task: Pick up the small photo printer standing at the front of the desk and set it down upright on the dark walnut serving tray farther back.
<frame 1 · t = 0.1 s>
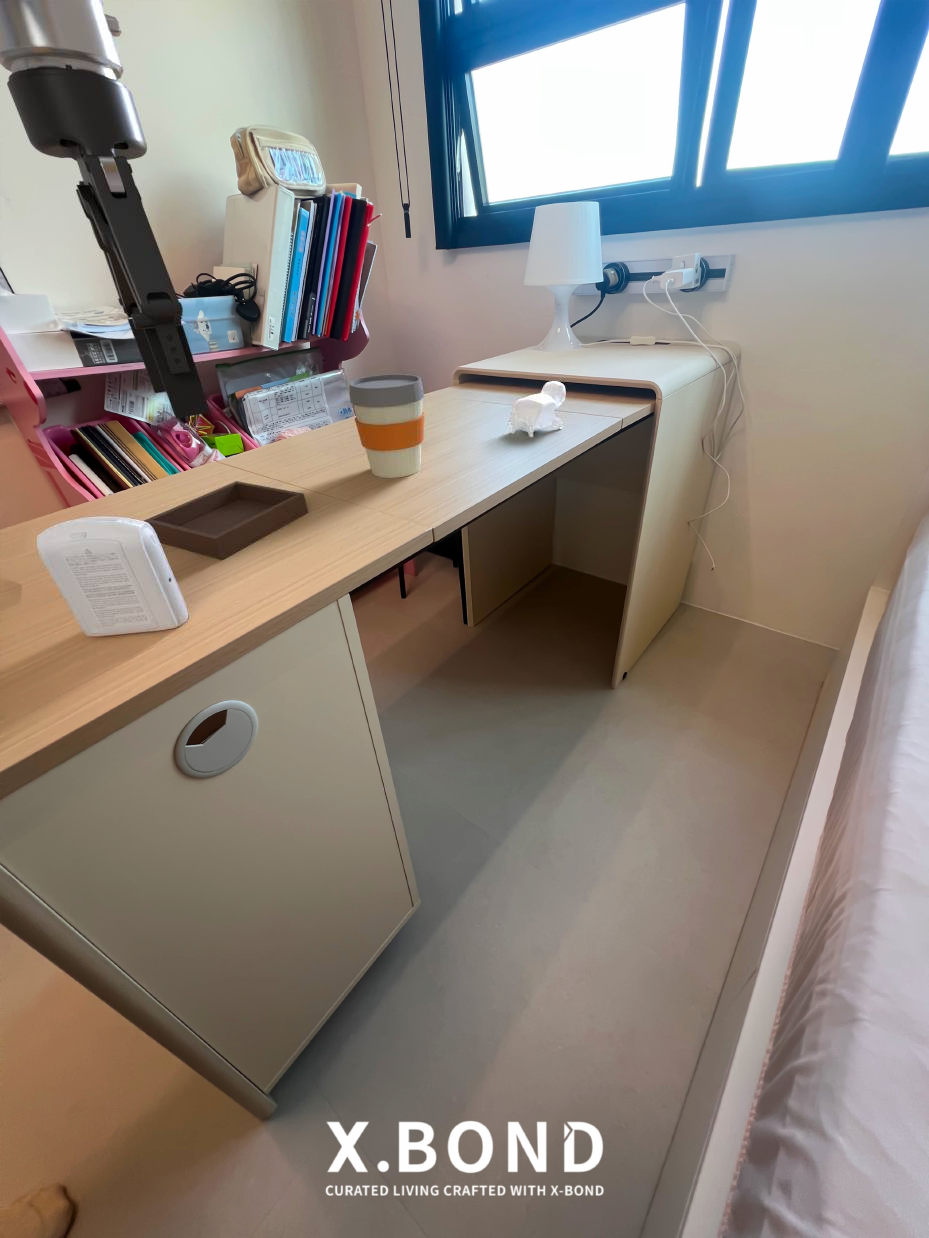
hand: (180, 402, 48), 21 cm above the table, tool pointing down, fingers open, 13 cm apart
reusable coffee cup: (396, 470, 93), on the table
white animal figurine: (539, 429, 111), on the table
photo printer: (141, 626, 55), on the table
tray: (233, 526, 75), on the table
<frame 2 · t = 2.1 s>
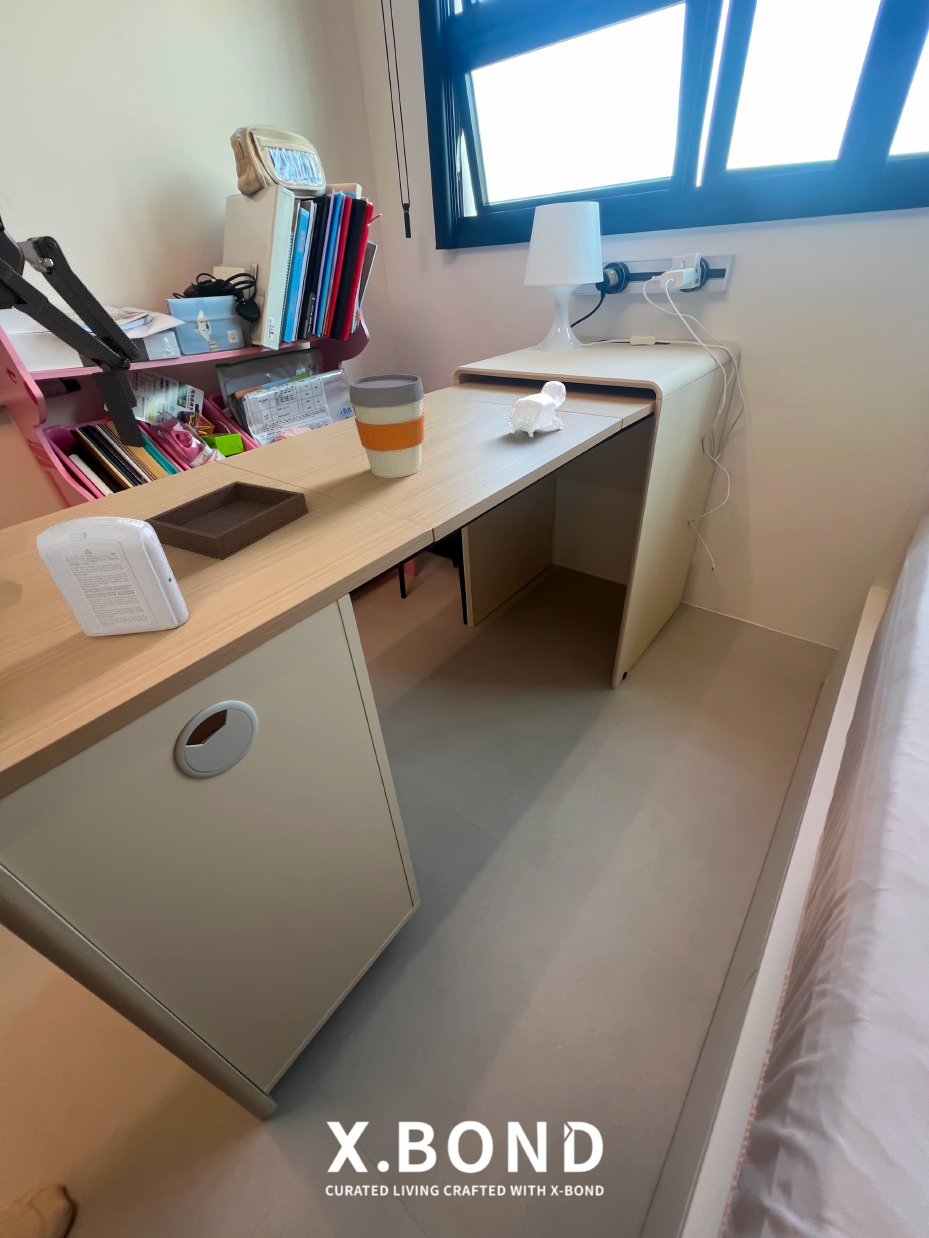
hand: (64, 467, 45), 17 cm above the table, tool pointing down, fingers open, 13 cm apart
nothing on the table moved.
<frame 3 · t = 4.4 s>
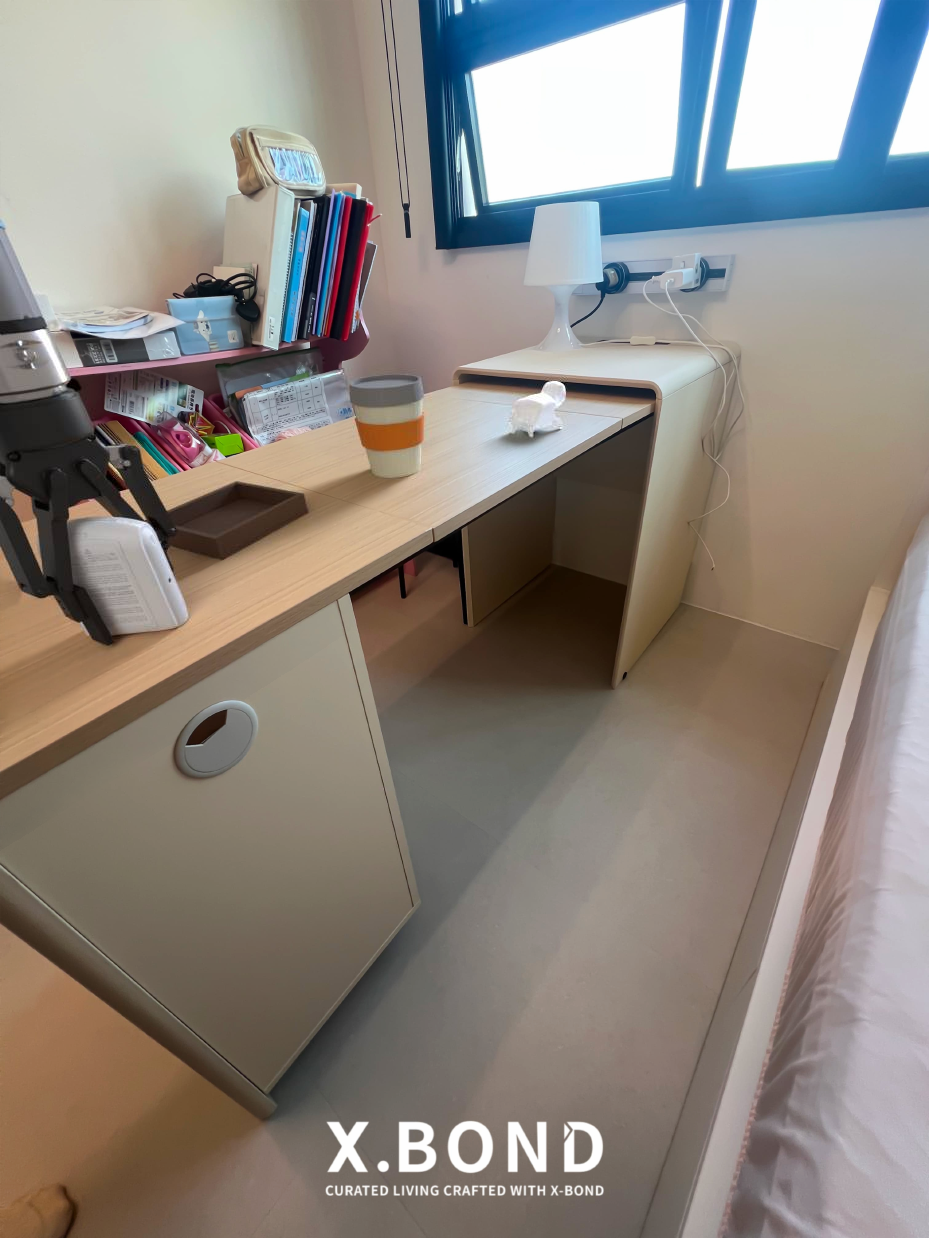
hand: (138, 620, 54), 1 cm above the table, tool pointing down, fingers closed on photo printer, 7 cm apart
photo printer: (141, 626, 55), on the table, touching gripper
everything else where it was.
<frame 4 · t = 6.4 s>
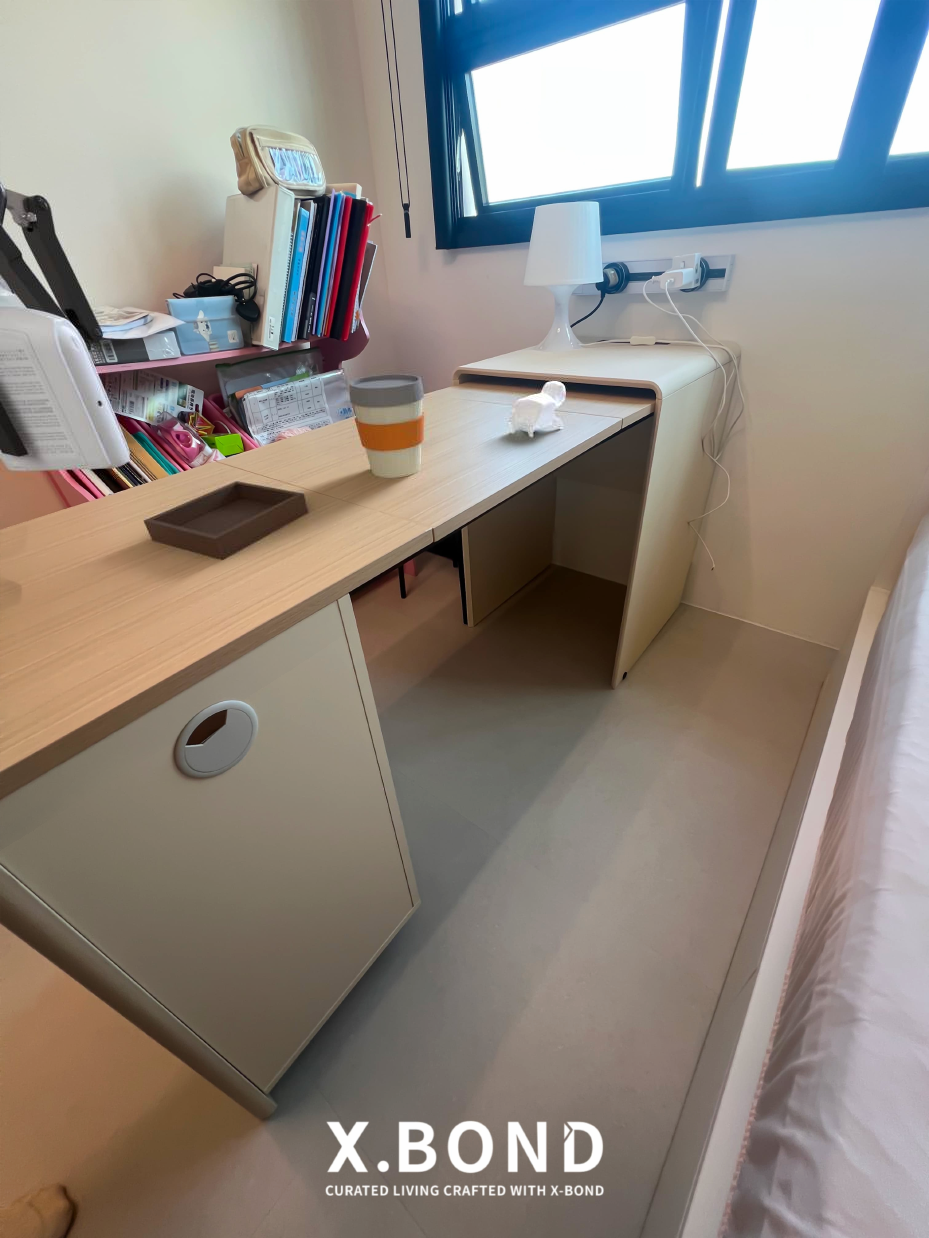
hand: (59, 441, 45), 19 cm above the table, tool pointing down, fingers closed on photo printer, 6 cm apart
photo printer: (75, 468, 46), point 17 cm above the table, touching gripper
everything else where it was.
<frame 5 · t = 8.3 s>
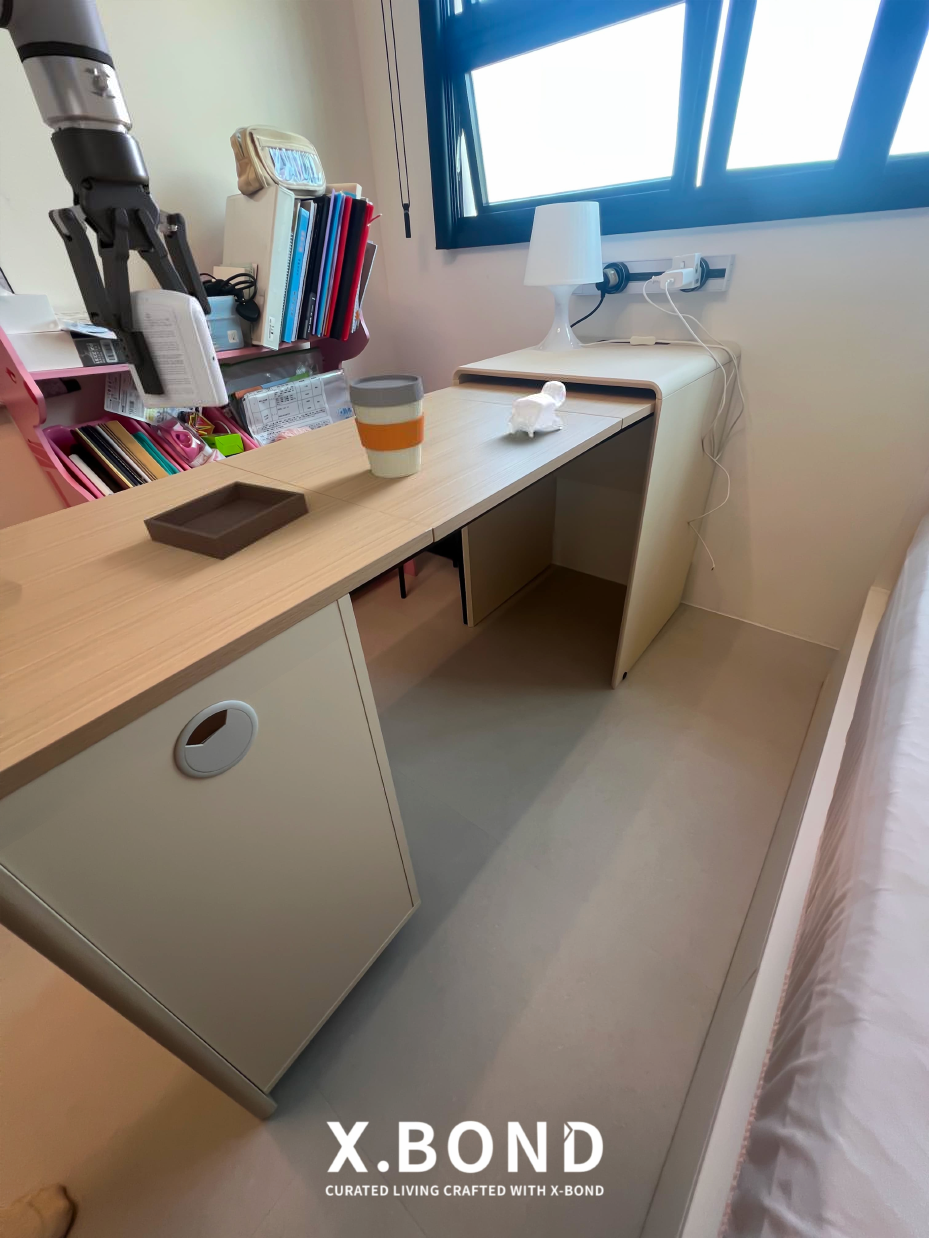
hand: (180, 387, 63), 19 cm above the table, tool pointing down, fingers closed on photo printer, 6 cm apart
photo printer: (189, 407, 64), point 17 cm above the table, touching gripper
everything else where it was.
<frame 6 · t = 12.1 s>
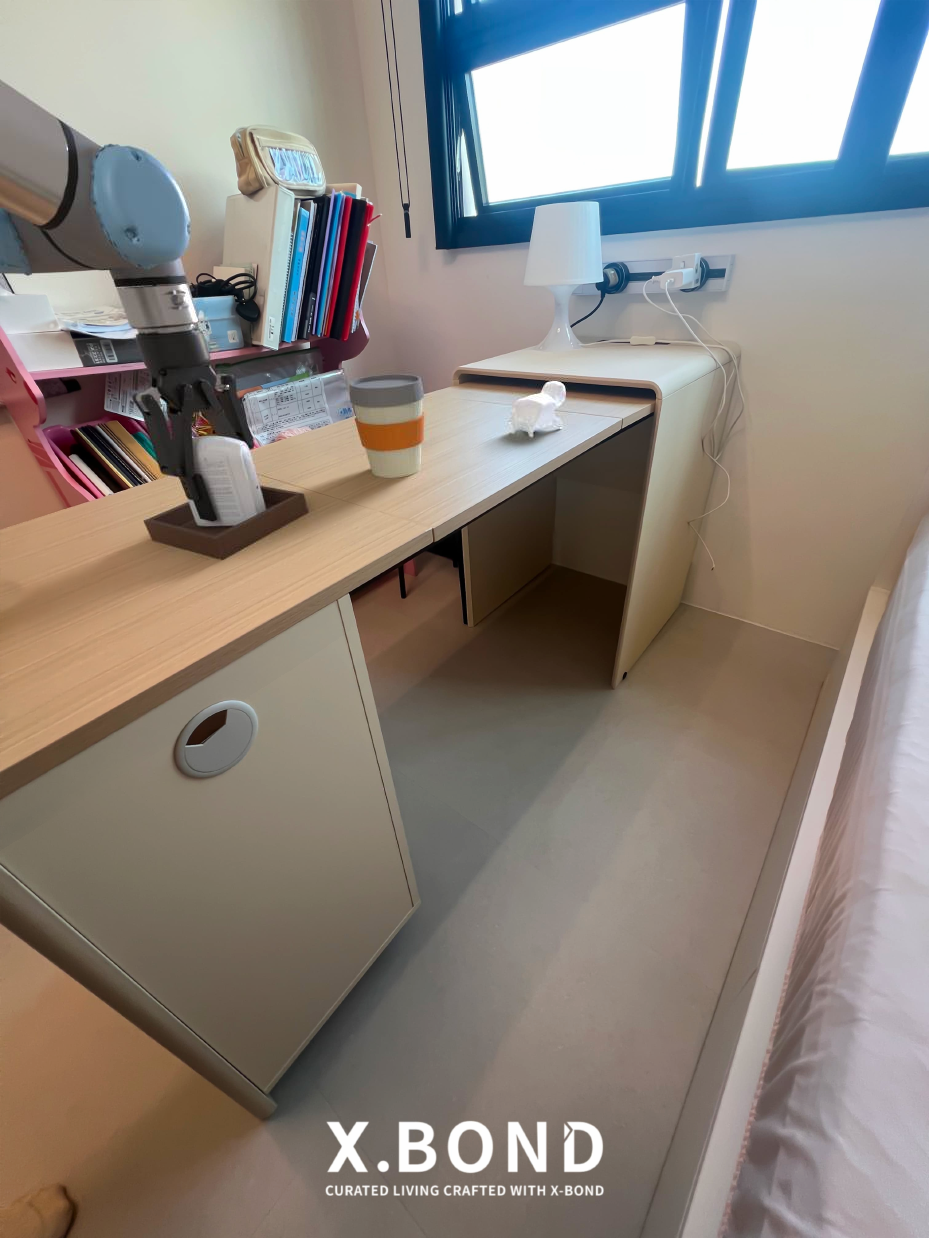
hand: (228, 509, 74), 3 cm above the table, tool pointing down, fingers closed on photo printer, 6 cm apart
photo printer: (234, 523, 75), resting on tray, touching gripper
everything else where it was.
when the fingers open (3 cm above the table, at t = 12.1 s): photo printer stays where it is, resting on tray.
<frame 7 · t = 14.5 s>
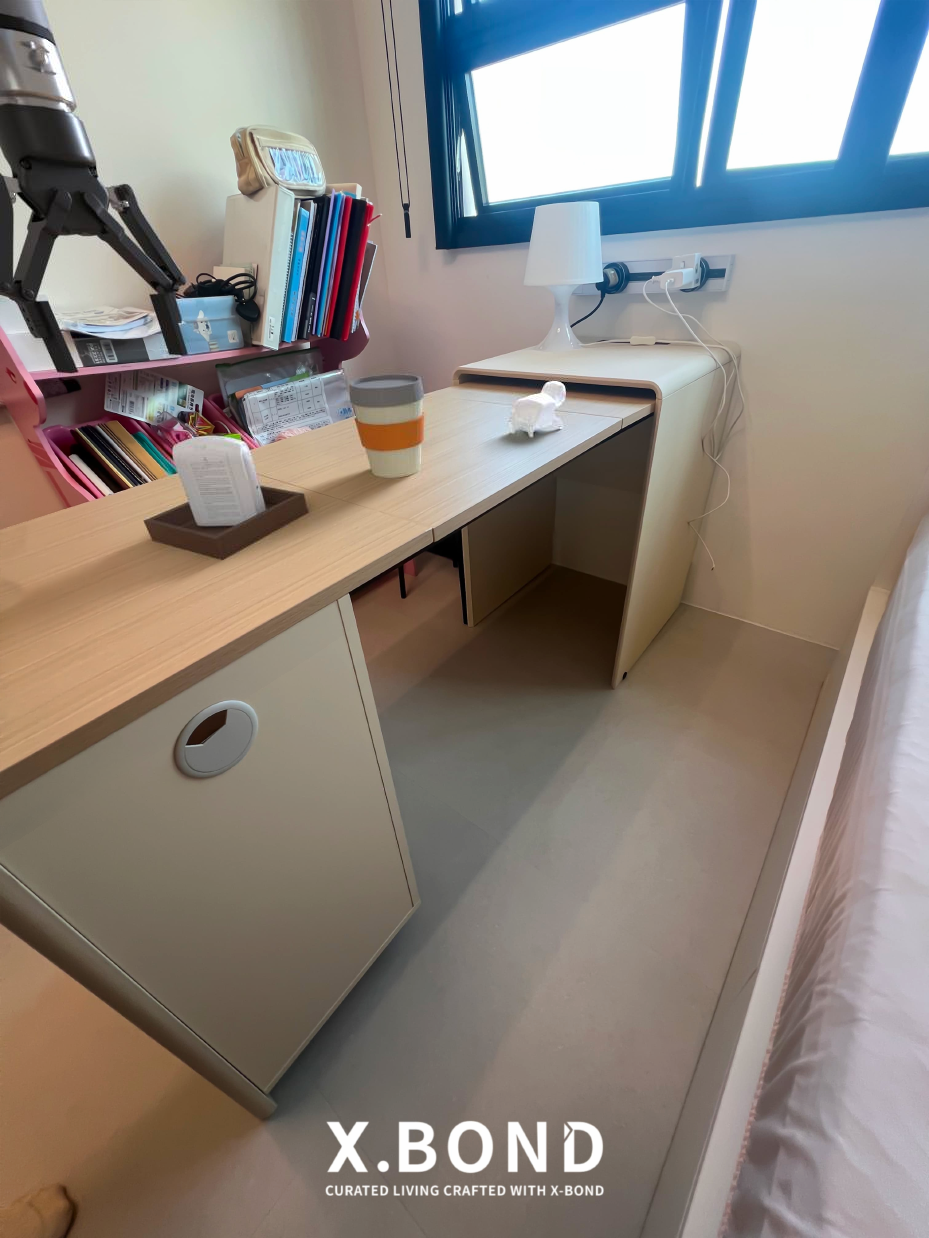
hand: (128, 363, 59), 23 cm above the table, tool pointing down, fingers open, 13 cm apart
photo printer: (234, 523, 75), resting on tray
everything else where it was.
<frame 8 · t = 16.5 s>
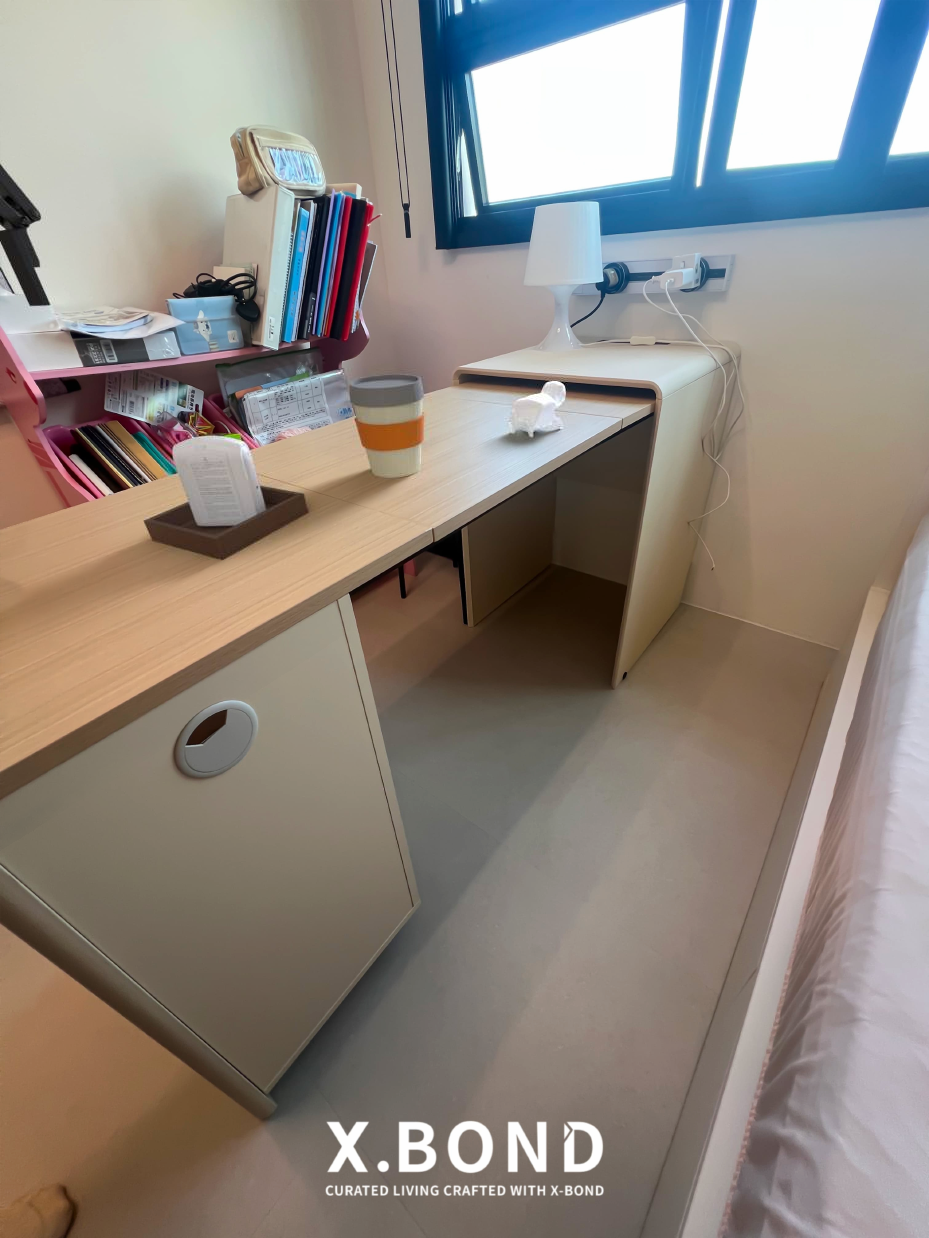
nothing on the table moved.
at the end: photo printer inside the target area in the tray (0.3 cm from its centre), point 0.4 cm above the tray's base; photo printer tilted 0°; the gripper is holding nothing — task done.
